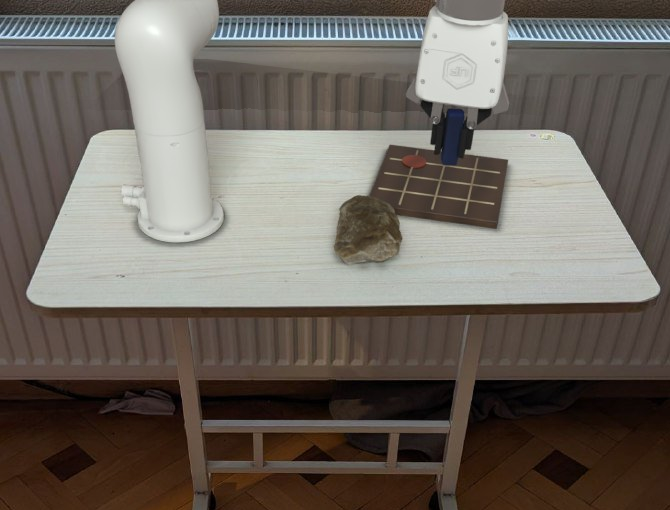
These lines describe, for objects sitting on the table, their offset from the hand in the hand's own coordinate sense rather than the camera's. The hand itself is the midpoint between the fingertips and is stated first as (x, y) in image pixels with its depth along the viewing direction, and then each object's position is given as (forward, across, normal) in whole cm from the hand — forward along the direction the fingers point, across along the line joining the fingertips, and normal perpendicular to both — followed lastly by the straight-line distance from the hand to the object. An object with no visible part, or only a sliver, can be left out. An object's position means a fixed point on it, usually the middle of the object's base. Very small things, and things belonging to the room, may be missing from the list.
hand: (450, 150), depth 106 cm
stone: (+17, -10, 0) cm, 20 cm away
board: (+17, -2, +20) cm, 27 cm away
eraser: (+2, 0, 0) cm, 2 cm away
